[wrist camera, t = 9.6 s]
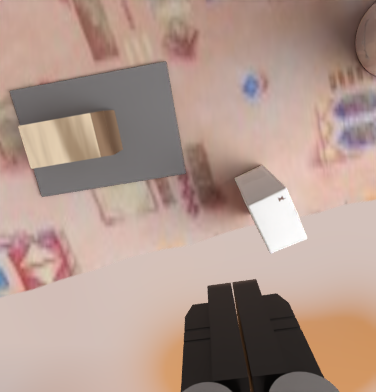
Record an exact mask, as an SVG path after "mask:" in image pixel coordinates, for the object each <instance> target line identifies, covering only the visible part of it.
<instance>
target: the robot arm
mask: <svg viewBox="0 0 376 392" xmlns="http://www.w3.org/2000/svg"><path fill="white" fill-rule="evenodd" d="M355 46H356V53H357V56H358V59H359V61H360V63H361V64H362V66H363V67H364V68H365V69H366V70H367V71H368V72H369V73H371V74H373V75H375V76H376V3H374V4H373V5H372V6H371V7H370V8H369V9H368V10H367V12H366V13H365V15H364V16H363V18H362V20H361V22H360V24H359V26H358V30H357V33H356V42H355ZM233 289H234V296H235V302H236V309H237V314H236V309H235V303H234V298H233V293H232V288H231V283H225V284H217V285H211V286H208V303H203V304H195V305H192V307H191V308H190V310H189V311H188V313H187V315H186V316H185V333H184V347H183V366H182V384H181V392H339V391H338V389H337V388H336V387H335V386H334V385H333V384H331V383H330V382H329V381H328V380H326V379H325V378H324V376H323V374H322V373H321V371H320V368H319V366H318V364H317V362H316V360H315V358H314V356H313V353H312V351H311V349H310V347H309V345H308V343H307V341H306V339H305V336H304V334H303V332H302V330H301V329H300V326H299V324H298V321H297V319H296V318H295V315H294V313H293V311H292V309H291V307H290V305H289V303H288V302H287V301H286V300H284V299H283V298H282V297H281V296H279V295H278V294H270V295H263V296H262V295H261V292H260V289H259V286H258V283H257V280H256V279H253V280H246V281H239V282H233ZM237 316H238V319H237ZM238 323H239V324H238ZM250 389H251V390H250Z"/></svg>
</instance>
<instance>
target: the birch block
mask: <svg viewBox="0 0 376 392" xmlns="http://www.w3.org/2000/svg"><path fill="white" fill-rule="evenodd" d="M18 128H19V132H20V135H21V138H22V141H23V145H24V148H25V151H26V154H27V158H28V161H29V164H30V167H31V169H34V168H40V167H46V166H51V165H57V164H63V163H69V162H75V161H81V160H87V159H93V158H98V157H104V156H110V155H114V154H116V153H118V152H119V151H121V150H123V146H122V142H121V138H120V133H119V129H118V124H117V120H116V115H115V111H114V110H107V111H98V112H93V113H87V114H82V115H76V116H71V117H65V118H60V119H54V120H49V121H43V122H38V123H32V124H27V125H21V126H18Z"/></svg>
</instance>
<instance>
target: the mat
mask: <svg viewBox="0 0 376 392" xmlns="http://www.w3.org/2000/svg"><path fill="white" fill-rule="evenodd" d="M10 94H11V97H12V100H13V104H14V107H15V110H16V113H17V117H18V120H19V123H20V126H21V125H27V124H32V123H38V122H43V121H49V120H54V119H60V118H65V117H71V116H76V115H82V114H87V113H93V112H98V111H107V110H114V111H115V115H116V120H117V124H118V129H119V133H120V138H121V142H122V146H123V150H121V151H119V152H118V153H116V154H114V155H110V156H104V157H98V158H93V159H87V160H81V161H75V162H69V163H63V164H57V165H51V166H46V167H40V168H34V172H35V176H36V179H37V182H38V185H39V189H40V192H41V195H42V197H45V196H51V195H57V194H63V193H69V192H76V191H82V190H88V189H94V188H100V187H106V186H112V185H119V184H125V183H131V182H137V181H143V180H149V179H155V178H162V177H168V176H174V175H180V174H186V171H185V165H184V159H183V154H182V148H181V142H180V137H179V131H178V125H177V120H176V114H175V108H174V103H173V97H172V91H171V86H170V80H169V74H168V69H167V63H166V61H165V62H160V63H155V64H149V65H144V66H139V67H134V68H128V69H123V70H118V71H112V72H107V73H102V74H97V75H91V76H86V77H81V78H76V79H70V80H65V81H60V82H54V83H49V84H44V85H39V86H33V87H28V88H23V89H17V90H12V91H10Z"/></svg>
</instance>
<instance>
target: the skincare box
mask: <svg viewBox="0 0 376 392" xmlns="http://www.w3.org/2000/svg"><path fill="white" fill-rule="evenodd" d="M235 181H236V184H237V186H238V188H239V190H240V193H241V195H242V197H243V199H244V202H245V204H246V206H247V208H248V210H249V212H250V214H251V217H252V219H253V221H254V223H255V225H256V227H257V229H258V230H259V233H260V235H261V236H262V239H263V241H264V242H265V244H266V246H267V248H268V250H269V252H270V253H273V252H276V251H278V250H281V249H283V248H286V247H288V246H291V245H293V244H296V243H298V242H301V241H303V240H306V239H307V236H306V233H305V231H304V229H303V226H302V223H301V221H300V218H299V215H298V213H297V211H296V209H295V206H294V204H293V201H292V199H291V197H290V195H289V192H288V190H287V188H286V187H285V186H284V185H283V184H282V183H281V182H280V181H279V180H278V179H277V178H276V177H275V176H274V175H272V174H271V173H270V172H269V171H268V170H267V169H266V168H265V167H264V166H263V165H261V166H259V167H257V168H255V169H253V170H251V171H248V172H246V173H244V174H242V175H240V176H238V177H235Z"/></svg>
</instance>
